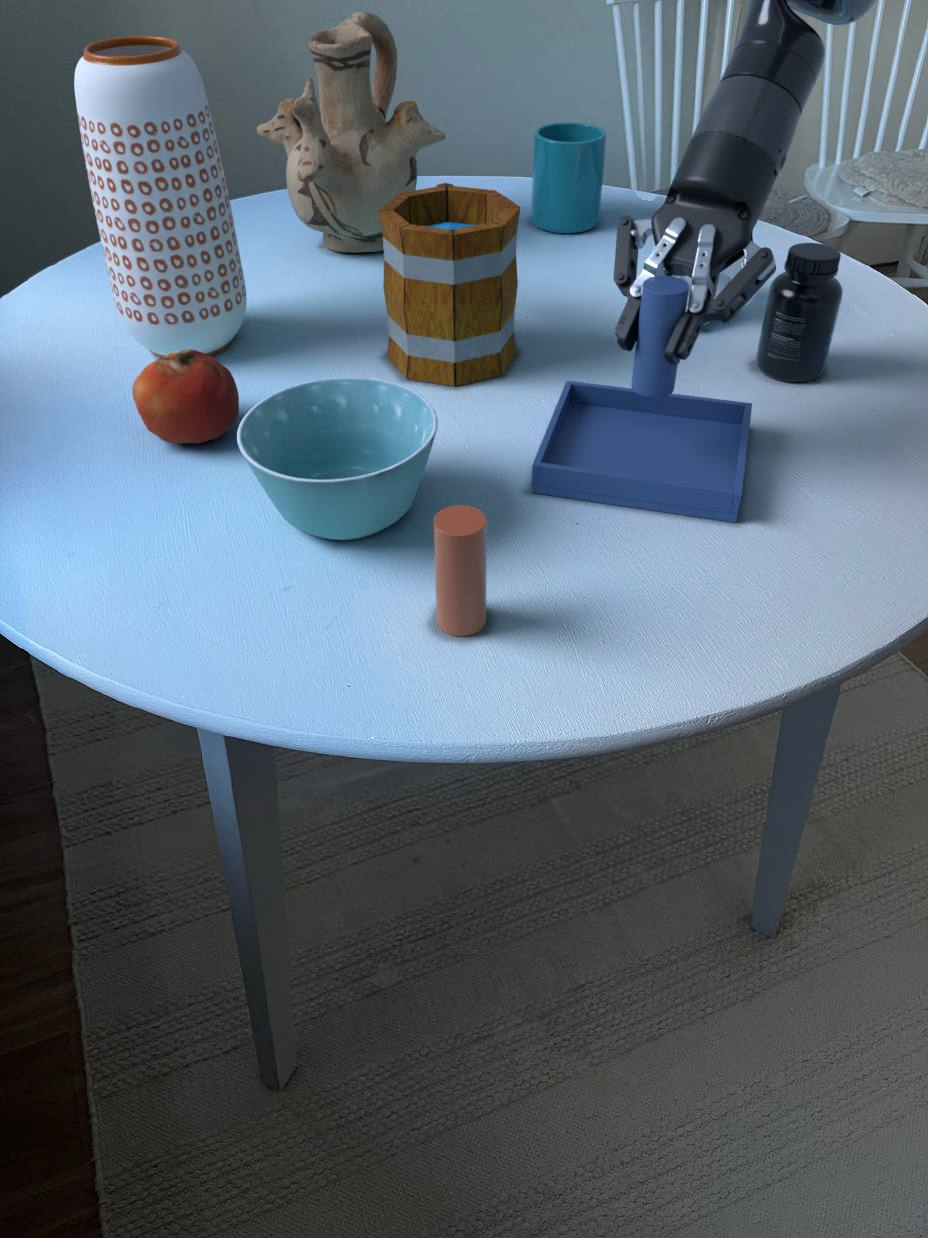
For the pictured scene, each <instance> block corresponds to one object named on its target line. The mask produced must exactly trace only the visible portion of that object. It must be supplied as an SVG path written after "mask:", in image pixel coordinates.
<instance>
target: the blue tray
mask: <svg viewBox="0 0 928 1238" xmlns="http://www.w3.org/2000/svg"><path fill="white" fill-rule="evenodd" d="M752 409H753V403H752V402H744V401H736V400H728V399H720V398H711V397H703V396H696V395H687V394H679V393H673V392H672V393H671V394H670V395H668V396H665V397H661V398H650V397H644V396H641V395H639V394H637V393H635V392H634V391H633V389H632V387H631V388H630V387H622V386H615V385H606V384H598V383H590V382H581V381H573V380H566V381H565V384H564V386H563V389H562V391H561V393H560V396H559V398H558V401H557V403H556V405H555V408H554V411H553V413H552V415H551V418H550V420H549V422H548V426H547V427H546V431H545V433H544V435H543V438H542V441H541V443H540V446H539V447H538V450H537V452H536V455H535V457H534V460H533V463H532V464H531V465H532V466H531V486H530V487H531V488H530V493H532V494H538V495H546V496H553V497H560V498H566V499H573V500H579V501H587V502H594V503H599V504H600V503H601V504H607V505H614V506H619V507H627V508H634V509H640V510H649V511H653V512H654V511H655V512H662V513H668V514H675V515H683V516H689V517H695V518H702V519H710V520H715V521H721V522H729V523H737V521H738V516H739V510H740V506H741V501H742V497H743V489H744V481H745V473H746V462H747V456H748V455H747V454H748V446H749V445H748V444H749V437H750V427H751V420H752V418H751V417H752Z"/></svg>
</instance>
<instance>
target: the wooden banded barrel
mask: <svg viewBox="0 0 928 1238" xmlns="http://www.w3.org/2000/svg"><path fill="white" fill-rule="evenodd" d="M378 212H379V218H380V224H381V229H382V235H383V248H384V250H383V282H382V283H383V285H382V287H383V288H382V289H383V294H384V301H385V308H386V314H387V315H386V316H387V328H388V340H387V341H388V342H387V359H388V360H389V361H390V362H391V364H393V366H394V367H395V368H396V369H397V370H398V371H399V372H400V373H401V374H402V375H403V376H404V378H406V379H407V380H411V381H417V382H425V383H429V384H434V385H435V384H437V385H442V386H448V387H455V388H456V387H460V386H464V385H468V384H472V383H477V382H481V381H485V380H488V379H489V380H490V379H493V378H498V377H502V376H503V374H504V373H505V371H506V369H507V368H508V367H509V366H510V364H511V362H512V361H513V359H514V358H515V356H516V355H517V348H516V347H517V346H516V335H515V314H516V312H515V311H516V303H517V294H518V287H519V285H518V284H519V281H518V280H519V279H518V264H517V263H518V262H517V238H518V237H517V236H518V235H517V234H518V227H519V221H520V220H519V219H520V214H521V213H520V212H521V206H520V205H519V204H517V203H516V202H514V201H512V200H511V199H510V198H508V197H507V196H505V195H503V194H502V193H500V192H499V191H498V190H495V189H488V188H487V189H486V188H476V187H468V186H467V187H466V186H459V185H453V184H452V183H448V182H443V183H438V184H436V186H433V187H426V188H421V189H415V190H414V191H408V192H402V193H398V194H397V195H396V196H395V197H394V198H392V199H391V200H390V201H389V202H388V203H387V204H385V205H384V206H383V207H382V208H381V209H380V210H379V211H378Z"/></svg>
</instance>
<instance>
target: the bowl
mask: <svg viewBox="0 0 928 1238" xmlns="http://www.w3.org/2000/svg"><path fill="white" fill-rule="evenodd" d="M437 431H438V416H437V413H436V410H435V408H434V407H433V405H432V404H431V402H430V401H429V400H428V399H427V398H425V396H424V395H422V394H421V393H419V392H417V391H416V390H414V389H412V388H410V387H408V386H405V385H403V384H400V383H397V382H394V381H390V380H385V379H381V378H375V377H362V376H341V377H327V378H320V379H319V378H318V379H314V380H309V381H305V382H301V383H297V384H294V385H290V386H288V387H285V388H283V389H280V390H278V391H276V392H274V393H272V394H269V395H268V396H266V397H265V398H263V399H261V400H260V401H259V402H257V403H256V404H255V405H254V406H252V407H251V408H250V409H249V410H248V412H246V413H245V415H244V416H243V418H242V419H241V421H240V423H239V425H238V428H237V432H236V442H237V447H238V449H239V451H240V453H241V455H242V456H243V459H244V460H245V462H246V464H247V465H248V467H249V468H250V470H251V471H252V473H253V475H254V477H255V478H256V479H257V481H258V483H259V484H260V486H261V487H262V489H263V490H264V492H265V493H266V495H267V496H268V498H269V499H270V501H271V502H272V504H273V506H274V507H275V508H276V510H277V511H278V513H279V514H280V516H281V517H282V518H283V519H284V520H285V521H286V522H287V523H288V524H289V525H291V526H292V527H293V528H295V529H297V530H299V531H301V532H304V533H306V534H309V535H311V536H315V537H318V538H322V539H325V540H331V541H349V540H351V541H352V540H359V539H362V538H366V537H370V536H372V535H375V534H378V533H380V532H381V531H383V530H385V529H386V528H388V527H390V526H392V525H394V523H396V522H397V521H399V520H400V519H401V518H402V517H403V516H404V515H405V514H406V513H407V512H408V511H409V509H410V508H411V506H412V504H413V502H414V500H415V496H416V495H417V491H418V488H419V486H420V483H421V480H422V478H423V475H424V472H425V469H426V466H427V463H428V461H429V458H430V454H431V452H432V449H433V445H434V441H435V438H436V435H437Z"/></svg>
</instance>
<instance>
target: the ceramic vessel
mask: <svg viewBox="0 0 928 1238" xmlns="http://www.w3.org/2000/svg"><path fill="white" fill-rule="evenodd" d="M308 47H309V50H310V54H311V57H312V60H313V64H314V69H315V74H316V80H317V86H318V94H319V95H318V97H319V103H318V100H317V97H316V92H315V84H314V80H313V78H312V77H308V78H307V80H306V82H305V86H304V90H303V93H302V95H301V96H299V97H298V98H296V99H295V98H294V97H293V98H292V97H290V98H289V97H288V98H287V99H285V100H282V101H281V102H280V103H279V106H278V110H277V112H276V114H275V115H274V116H273V117H272V118H271V119H270V120H269V121H267V122H264V123H261V124H259V125H257V126H256V132H257V134H258V135H259V136H260V137H262V138H263V139H266V140H268V141H270V142H272V143H273V144H275V145H276V146H277V147H281V148H283V149H284V150H285V154H286V157H287V161H286V167H285V171H286V172H285V179H286V180H285V181H286V189H287V192H288V196H289V199H290V202H291V206H292V208H293V210H294V212H295V214H296V216H297V217H298V218H299V220H300V221H301V223H303V224H304V225H305V227H307V228H309V229H312V230H313V231H316V232H320V233H322V244H323V246H324V247H325V248H326V249H328V250H330V251H333V252H339V253H378V252H382V251H384V248H383V235H382V229H381V224H380V218H379V212H378V211H379V210H380V209H381V208H382V207H383V206H384V205H385V204H387V203H388V202H389V201H390V200H391V199H392V198H394V197H395V196H396V195H397V194H398V193H402V192H408V191H414V190H417V189H416V188H417V183H418V182H417V181H418V163H417V154H418V152H419V151H420V150H421V149H424V148H427V147H429V146H431V145H433V144H437V143H439V142H443V141H445V140H446V136H447V135H446V134H445V132H443V131H441V130H439V129H437V128H436V127H433V126H432V125H431V124H430V123H429V122H428V121H426V119H424V118H423V116H422V114H421V112H420V111H419V108H418V104H417V102H416V101H415V100H406V101H403V102H400V103H398V105H397V106H396V107H395V108H394V110H393V114H392V116H391V117H390V119H389V120H388V121H387V113H388V109H389V107H390V104H391V101H392V99H393V95H394V92H395V86H396V82H397V73H398V49H397V46H396V42H395V39H394V36H393V34H392V32H391V30H390V28H389V26H388V24H386V23H385V21H384V20H383V19H382V18H381V17H380V16H378V15H377V14H374V13H372V12H370V11H355V12H353V13H352V14H351V15H350V16H348V17H347V18H346V19H344V20H343V21H342V22H341V23H339V24H338V25H336V27H331V28H323V29H320V30H319V31H317V32H316V33H314V34H313V35H312V36H311V37H310V38H309V41H308ZM373 47H374V50H375V56H376V57H375V58H376V59H375V60H376V61H375V72H374V80H373V84H372V87H371V56H372V55H371V54H372V48H373Z"/></svg>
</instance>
